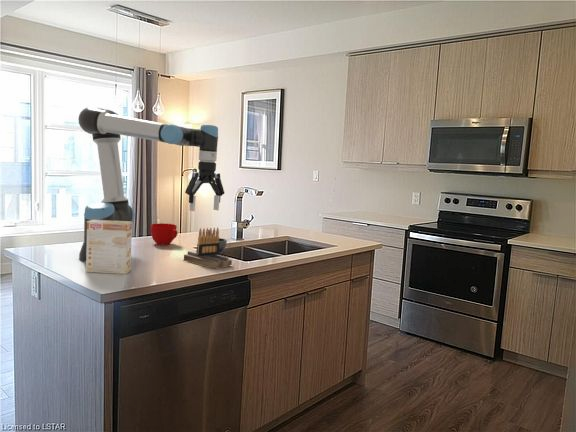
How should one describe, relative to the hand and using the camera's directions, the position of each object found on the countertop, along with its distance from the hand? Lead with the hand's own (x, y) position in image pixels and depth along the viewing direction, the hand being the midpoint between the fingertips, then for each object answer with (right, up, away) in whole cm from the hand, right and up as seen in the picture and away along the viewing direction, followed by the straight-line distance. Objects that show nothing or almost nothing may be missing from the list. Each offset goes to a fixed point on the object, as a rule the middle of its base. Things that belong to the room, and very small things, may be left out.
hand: (204, 210), depth 202 cm
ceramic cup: (-27, -17, +39) cm, 50 cm away
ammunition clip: (+1, -20, +2) cm, 20 cm away
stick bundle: (+1, -23, +2) cm, 23 cm away
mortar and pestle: (+1, -21, +24) cm, 32 cm away
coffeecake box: (-33, -24, -24) cm, 47 cm away
